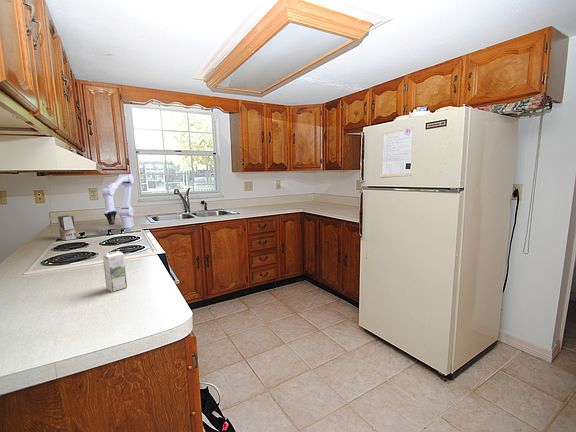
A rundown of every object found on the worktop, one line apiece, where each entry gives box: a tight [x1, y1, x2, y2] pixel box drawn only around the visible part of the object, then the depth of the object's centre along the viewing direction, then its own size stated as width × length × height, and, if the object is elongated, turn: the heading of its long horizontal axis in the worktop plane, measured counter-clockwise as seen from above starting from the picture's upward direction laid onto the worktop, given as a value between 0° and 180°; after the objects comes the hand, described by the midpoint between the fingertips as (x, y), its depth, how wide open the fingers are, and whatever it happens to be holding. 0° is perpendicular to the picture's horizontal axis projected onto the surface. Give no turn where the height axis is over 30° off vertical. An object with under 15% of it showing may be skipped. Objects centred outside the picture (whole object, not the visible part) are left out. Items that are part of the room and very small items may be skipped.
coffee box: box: [57, 214, 77, 241], centre depth 201 cm, size 9×6×16 cm
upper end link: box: [96, 227, 121, 235], centre depth 221 cm, size 10×14×2 cm
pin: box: [107, 215, 116, 226], centre depth 220 cm, size 4×4×7 cm
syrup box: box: [102, 250, 128, 293], centre depth 114 cm, size 6×6×14 cm
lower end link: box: [101, 228, 131, 235], centre depth 222 cm, size 10×16×2 cm, turn 95°
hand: (111, 221), depth 221 cm, fingers closed on pin, 4 cm apart
